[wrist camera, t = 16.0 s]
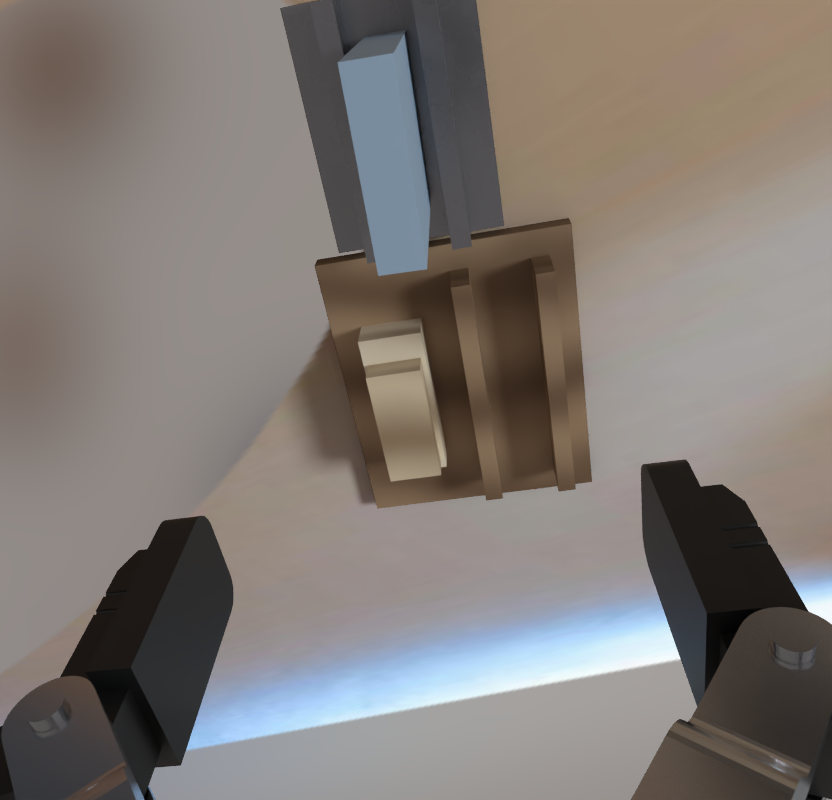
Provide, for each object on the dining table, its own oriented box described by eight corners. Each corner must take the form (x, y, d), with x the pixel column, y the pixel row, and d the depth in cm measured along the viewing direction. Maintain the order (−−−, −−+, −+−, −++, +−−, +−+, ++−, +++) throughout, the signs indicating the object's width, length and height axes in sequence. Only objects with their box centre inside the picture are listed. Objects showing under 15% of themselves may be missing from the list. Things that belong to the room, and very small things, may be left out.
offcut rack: (317, 259, 42) (307, 282, 39) (568, 218, 41) (578, 238, 38) (378, 499, 50) (374, 533, 47) (589, 472, 49) (598, 506, 46)
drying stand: (284, 7, 36) (269, 11, 33) (471, -32, 35) (474, -32, 32) (341, 247, 42) (333, 269, 39) (502, 220, 41) (507, 240, 38)
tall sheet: (364, 37, 35) (337, 62, 26) (406, 30, 35) (393, 52, 26) (393, 204, 39) (378, 276, 30) (430, 198, 39) (427, 269, 30)
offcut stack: (361, 327, 43) (355, 354, 40) (421, 317, 43) (419, 344, 40) (391, 455, 47) (388, 488, 44) (446, 448, 47) (446, 481, 44)
